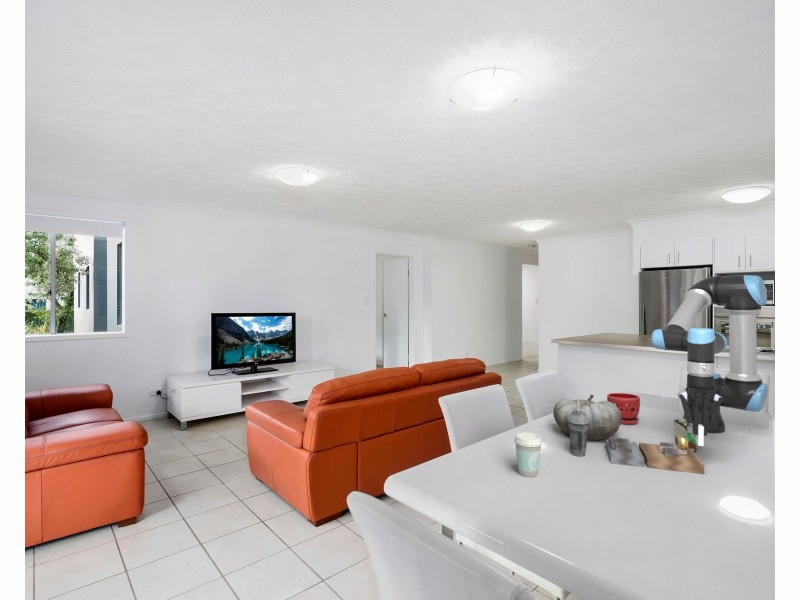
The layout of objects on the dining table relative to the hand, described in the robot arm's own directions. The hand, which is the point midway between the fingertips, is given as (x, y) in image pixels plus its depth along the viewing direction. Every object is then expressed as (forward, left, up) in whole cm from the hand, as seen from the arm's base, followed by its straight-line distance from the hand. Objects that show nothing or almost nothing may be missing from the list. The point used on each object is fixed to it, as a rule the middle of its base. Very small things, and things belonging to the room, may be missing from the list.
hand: (699, 444), depth 146 cm
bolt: (+8, 0, -4) cm, 8 cm away
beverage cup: (+38, +3, -7) cm, 39 cm away
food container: (-1, -16, -7) cm, 18 cm away
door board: (+14, 0, -7) cm, 15 cm away
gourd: (+34, -20, -7) cm, 40 cm away
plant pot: (+17, -46, -7) cm, 50 cm away
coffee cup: (+54, +26, -7) cm, 60 cm away
